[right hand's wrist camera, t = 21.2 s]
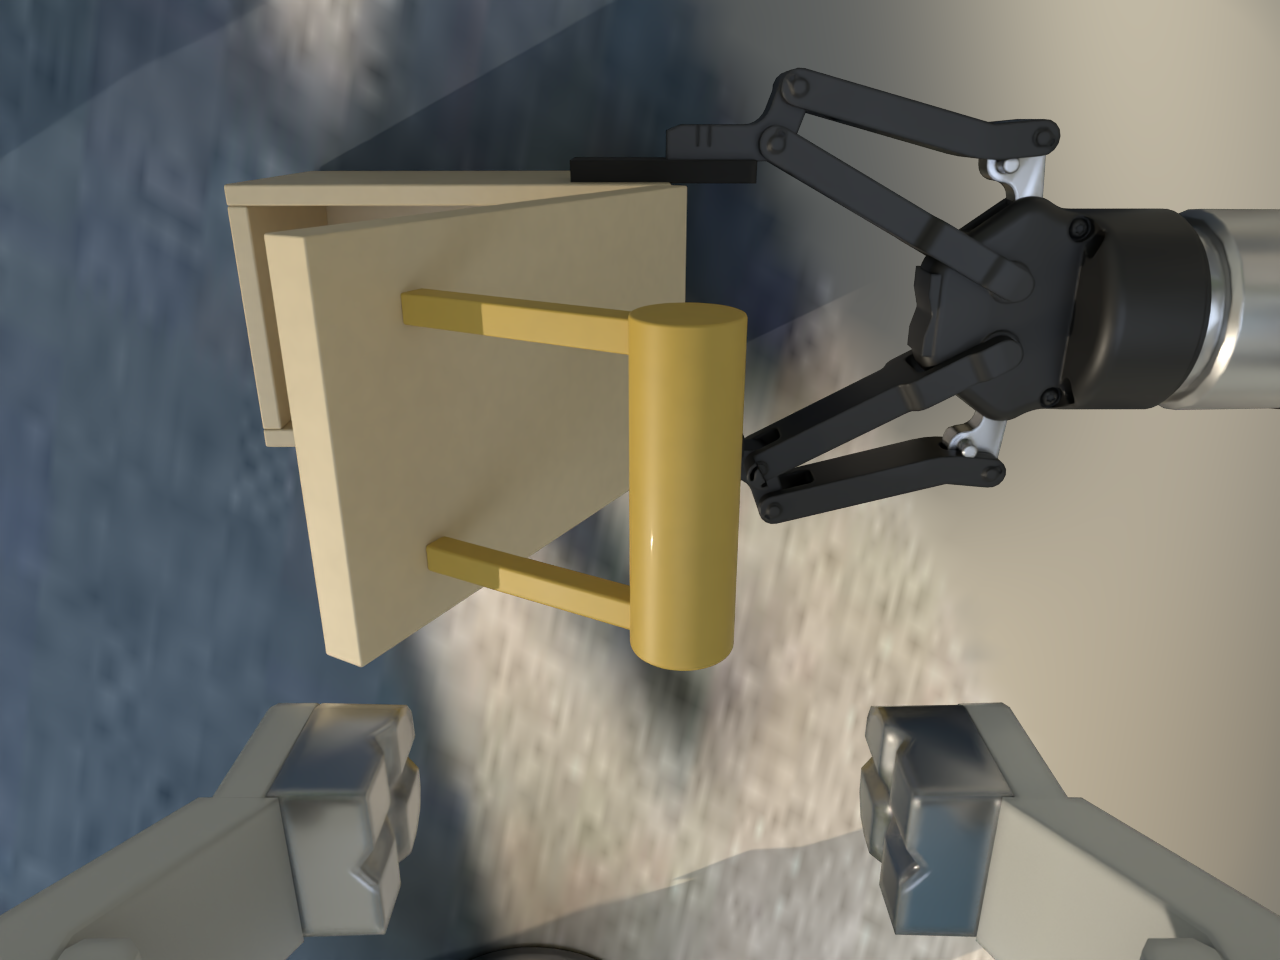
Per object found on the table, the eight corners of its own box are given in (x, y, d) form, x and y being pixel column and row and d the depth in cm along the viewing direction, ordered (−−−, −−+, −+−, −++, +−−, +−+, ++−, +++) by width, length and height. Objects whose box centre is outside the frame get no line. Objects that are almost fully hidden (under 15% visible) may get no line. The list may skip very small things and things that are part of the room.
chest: (337, 384, 43) (265, 447, 34) (310, 170, 39) (222, 184, 31) (663, 383, 43) (668, 447, 34) (664, 170, 39) (671, 183, 31)
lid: (325, 655, 21) (667, 783, 17) (262, 233, 18) (674, 267, 13) (655, 450, 34) (893, 494, 30) (657, 184, 31) (927, 194, 27)
